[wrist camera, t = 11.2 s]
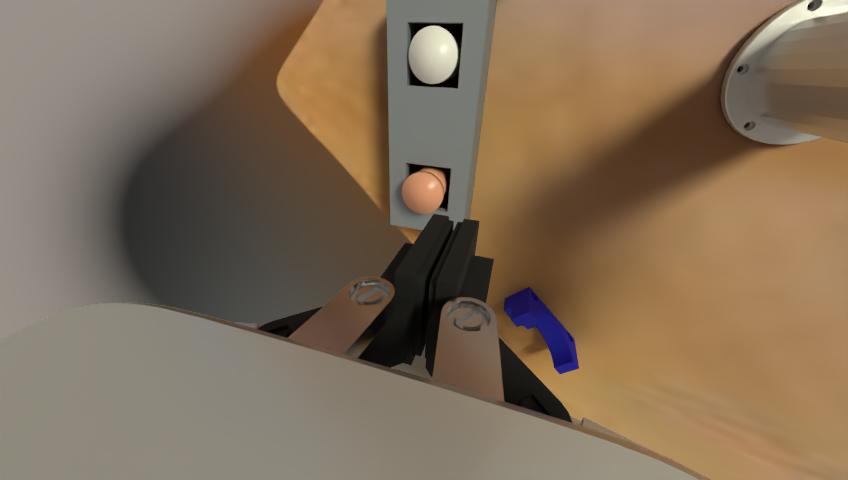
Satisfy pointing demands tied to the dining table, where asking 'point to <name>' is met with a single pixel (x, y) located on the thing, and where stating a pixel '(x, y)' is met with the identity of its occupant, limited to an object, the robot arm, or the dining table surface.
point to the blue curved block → (543, 327)
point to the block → (436, 104)
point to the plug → (434, 55)
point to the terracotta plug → (426, 189)
